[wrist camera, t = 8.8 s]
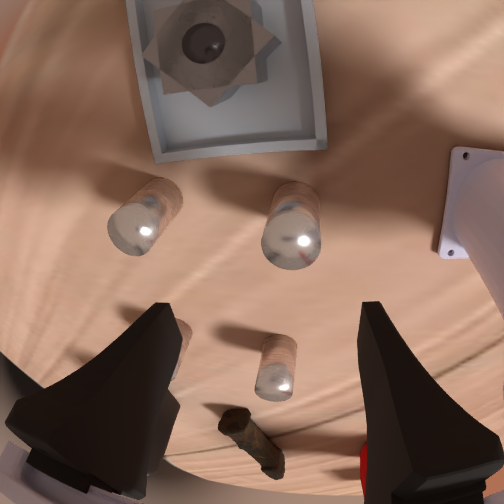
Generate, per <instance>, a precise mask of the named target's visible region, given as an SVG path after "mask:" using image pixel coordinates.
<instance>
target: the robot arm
mask: <svg viewBox="0 0 504 504" xmlns="http://www.w3.org/2000/svg"><path fill="white" fill-rule="evenodd" d="M465 152H467V157H466V158H463V154H464V153H465ZM450 250H452V252H451V253H448V252H449V251H450ZM438 255H439V257H440V258H442V259H455V258H470V259H471V261H472V263H473V264H474V266H475V268H476V269H477V271H478V273H479V274H480V276H481V278H482V279H483V281H484V283H485V285H486V287H487V288H488V290H489V292H490V294H491V296H492V297H493V299H494V301H495V303H496V305H497V307H498V309H499V311H500V313H501V315H502V317H503V319H504V151H497V150H489V149H480V148H471V147H460V146H457V147H454V148H453V149H452V151H451V158H450V170H449V180H448V188H447V196H446V204H445V211H444V217H443V224H442V230H441V235H440V241H439V246H438ZM182 341H183V337H182V335H181V332H180V330H179V327H178V325H177V322H176V319H175V317H174V314H173V311H172V309H171V306H170V303H157V302H156V303H155V304H153V305H152V306H151V307H150V308H149V309H148V310H147V311H146V312H145V313H144V314H142V315H141V316H140V317H139V318H138V319H137V320H136V321H135V322H134V323H133V324H132V325H131V326H130V327H129V328H128V329H127V330H126V331H125V332H123V333H122V334H121V335H120V336H119V337H118V338H117V339H116V340H115V341H113V342H112V343H111V344H110V345H109V346H108V347H107V348H105V349H104V350H103V351H102V352H101V353H100V354H98V355H97V356H96V357H95V358H93V359H92V360H91V361H89V362H88V363H87V364H85V365H84V366H82V367H81V368H79V369H78V370H76V371H75V372H73V373H72V374H70V375H68V376H67V377H65V378H64V379H62V380H60V381H58V382H57V383H55V384H53V385H51V386H49V387H47V388H45V389H43V390H41V391H39V392H36V393H34V394H31V395H29V396H26V397H24V398H21V399H18V400H17V401H16V403H15V404H14V406H13V408H12V410H11V412H10V413H9V415H8V417H7V419H6V421H5V424H6V426H7V427H8V428H9V429H10V430H11V431H12V432H13V433H14V434H15V435H16V436H17V437H19V438H20V439H21V440H22V441H24V442H25V443H26V444H27V445H28V446H30V447H31V448H32V449H31V452H30V453H29V452H27V451H26V450H24V449H23V448H21V447H19V446H17V445H16V444H14V443H13V442H11V441H8V442H7V444H6V446H5V448H4V450H3V452H2V454H1V456H0V492H1V493H2V494H4V495H5V496H6V497H7V498H8V499H10V500H11V501H12V502H14V503H15V504H142V503H139V502H136V501H133V500H130V499H127V498H124V497H121V496H118V495H115V494H113V493H116V494H119V495H121V494H122V495H125V496H127V497H131V498H134V499H137V500H140V499H142V498H144V497H145V496H146V483H147V472H148V465H149V458H150V451H151V446H152V440H153V435H154V431H155V426H156V422H157V418H158V414H159V411H160V408H161V405H162V402H163V400H164V397H165V394H166V392H167V389H168V386H169V384H170V381H171V379H172V376H173V373H174V370H175V368H176V365H177V362H178V359H179V355H180V351H181V346H182ZM357 348H358V365H359V372H360V378H361V385H362V391H363V398H364V405H365V412H366V421H367V470H366V487H365V499H364V504H504V490H503V491H500V492H497V493H495V494H492V495H490V496H487V497H485V498H483V493H482V491H484V490H486V483H485V480H486V479H488V478H489V477H490V476H492V475H493V474H494V473H496V472H497V471H498V470H500V469H501V468H502V467H503V465H504V451H503V447H502V444H501V441H500V438H499V436H498V435H496V434H495V433H494V432H492V431H491V430H489V429H488V428H486V427H485V426H484V425H482V424H481V423H479V422H478V421H477V420H476V419H474V418H473V417H472V416H471V415H470V414H468V413H467V412H466V411H465V410H464V409H463V408H462V407H461V406H460V405H458V404H457V403H456V402H455V401H454V400H453V399H452V398H451V397H450V396H449V395H448V394H447V393H446V392H445V391H444V390H443V389H442V388H441V387H440V386H439V385H438V384H437V382H436V381H435V380H434V379H433V378H432V377H431V376H430V374H429V373H428V372H427V371H426V370H425V368H424V367H423V366H422V365H421V363H420V362H419V361H418V359H417V358H416V357H415V355H414V354H413V353H412V351H411V350H410V349H409V347H408V346H407V344H406V343H405V341H404V340H403V338H402V337H401V335H400V334H399V332H398V331H397V329H396V328H395V326H394V324H393V323H392V321H391V320H390V318H389V316H388V315H387V313H386V311H385V309H384V308H383V306H382V304H381V303H380V302H379V301H374V302H362V309H361V316H360V324H359V331H358V338H357ZM503 398H504V384H503ZM112 492H113V493H112Z"/></svg>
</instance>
